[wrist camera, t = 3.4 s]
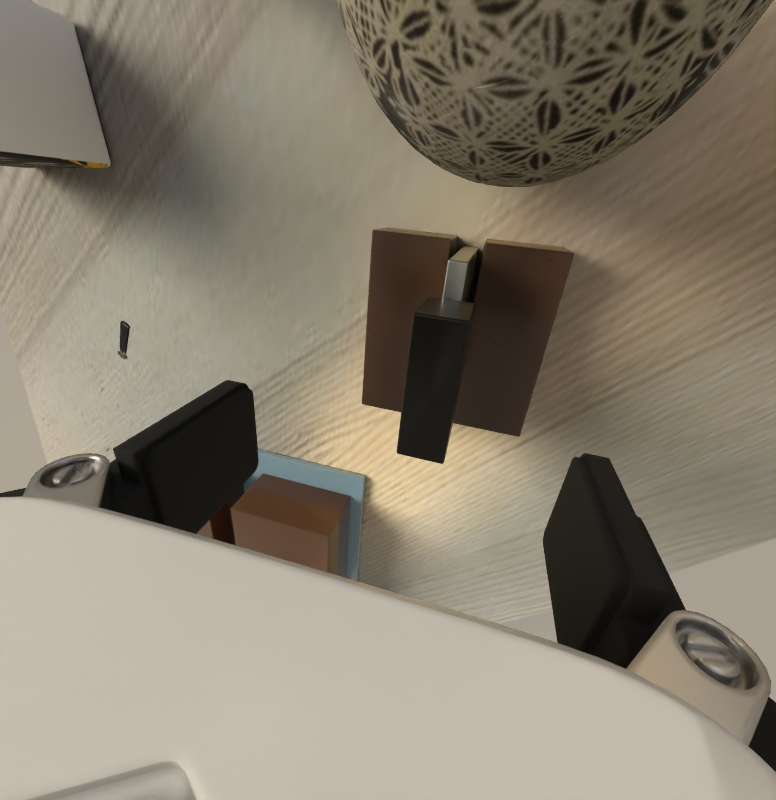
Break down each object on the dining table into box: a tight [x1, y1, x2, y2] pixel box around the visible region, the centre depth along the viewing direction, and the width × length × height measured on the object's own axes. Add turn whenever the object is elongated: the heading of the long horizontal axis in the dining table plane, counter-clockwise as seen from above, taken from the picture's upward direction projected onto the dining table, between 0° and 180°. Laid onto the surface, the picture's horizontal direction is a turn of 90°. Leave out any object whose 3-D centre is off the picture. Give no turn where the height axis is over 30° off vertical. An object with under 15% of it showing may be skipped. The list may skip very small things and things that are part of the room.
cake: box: [152, 424, 366, 581], centre depth 33 cm, size 20×16×5 cm
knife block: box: [362, 228, 574, 437], centre depth 21 cm, size 10×10×3 cm
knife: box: [118, 321, 130, 359], centre depth 31 cm, size 6×1×3 cm
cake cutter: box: [397, 246, 478, 464], centre depth 18 cm, size 2×9×10 cm, turn 175°
